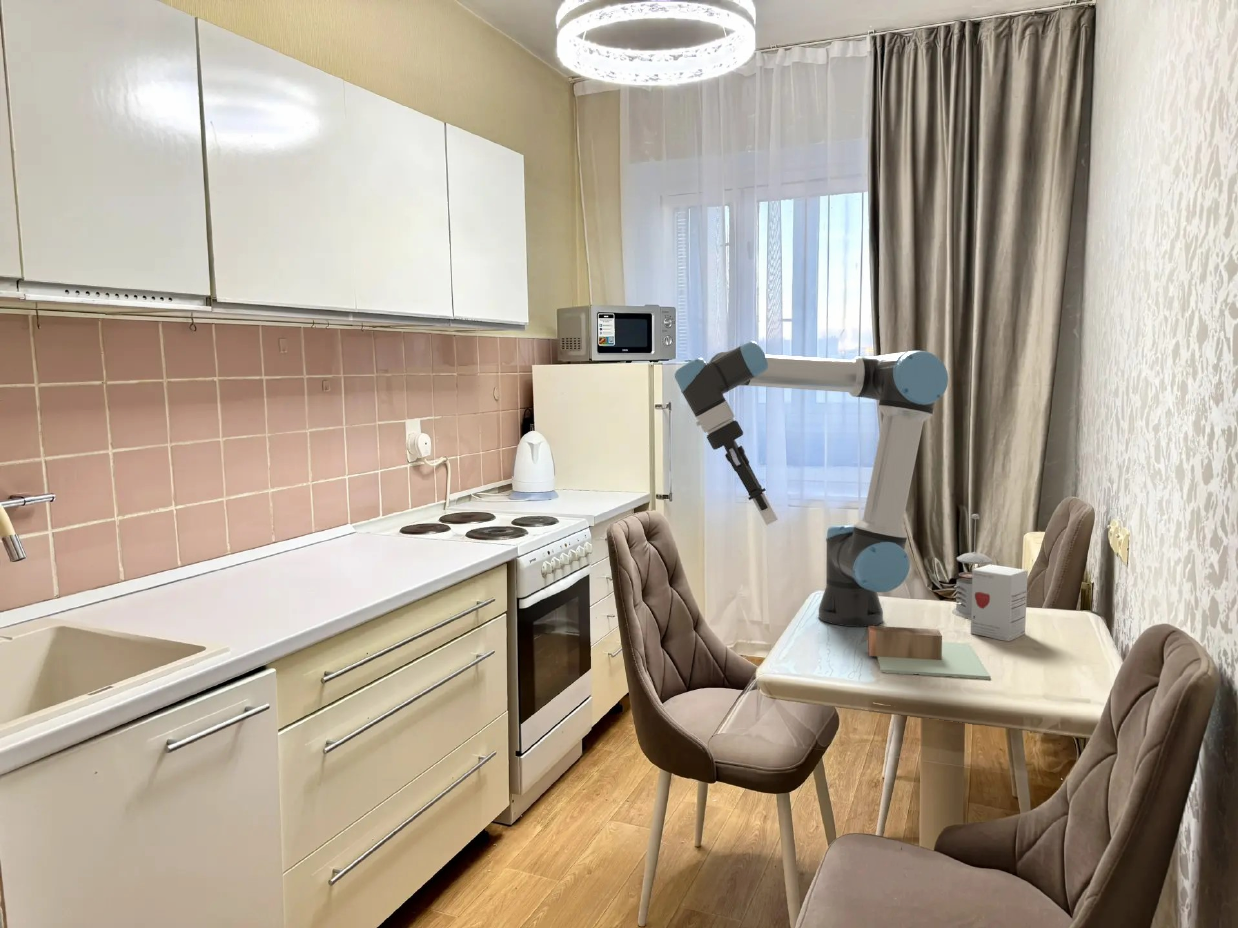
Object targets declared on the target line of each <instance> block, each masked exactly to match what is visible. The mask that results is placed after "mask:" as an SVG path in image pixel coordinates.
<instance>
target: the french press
mask: <svg viewBox="0 0 1238 928" xmlns="http://www.w3.org/2000/svg"><path fill="white" fill-rule="evenodd" d="M970 517H971V519H972V520H974V535H973V536H974V539H973V544H974V545H973V552H965V553H963V554H961V555H959V556H957V557H956V560H957V562H960V563H963V564H970V565H973V569H976V568H977V567H975V566H976V565H988V564H990V563H992V562H993V559H991V558H990V557H989V556H987V555H985V554H983V553H979V552H977V551H976V529H977V528H976V527H977V520H980V518H981V517H980V515H979V514H978V513H973V514H971V516H970ZM958 577H959V578H958V579H956V600H955V601H956V605H955V608H954V609H952V611H951V613H952V614H953V615H955V616H958V617H961V616H962V617H961V618H965V617H966V618H967V619H971V606H972V577H973V572H972V571H971V572H970V571H965V572H964V571H963V572H959V573H958Z"/></svg>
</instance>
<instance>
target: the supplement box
mask: <svg viewBox="0 0 1238 928" xmlns="http://www.w3.org/2000/svg"><path fill="white" fill-rule="evenodd" d="M975 568H976V569H974V568H973V569H972V573H973V577H972V606H971V618H970V634H973V635H977V636H982V637H986V638H990V639H995V640H1000V641H1004V642H1010V641H1013V640H1015V639H1018V638H1020V637H1022V636H1024V635H1025V634H1026V619H1027V598H1028V597H1027V594H1028V578H1029V577H1028V575H1029V570H1028V569H1023V568H1016V567H1010V566H1002V565H996V564H990V563H988V564H985V565H983V566H981V567H980V566H979V567H975Z"/></svg>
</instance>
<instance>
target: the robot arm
mask: <svg viewBox="0 0 1238 928" xmlns="http://www.w3.org/2000/svg"><path fill="white" fill-rule="evenodd" d="M943 362H944V361H942V360H941V358H939V357H938V355H936V354H933V353H932V352H929V351H925V350H915V349H914V350H913V349H912V350H908V351H903V352H895V353H894V352H893V353H889V354H882V355H875V356H855V357H854V358H853V359H836V358H822V357H806V356H805V357H804V356H789V355H774V354H773V355H772V354H765V352H764V351H763V349H762V347H761V346H760V345H759V344H758V343H757V342H756V341H753V340H750V341H748V342H746V343H743V344H740V345H739V346H738V347H736V348H733V349H731V350H728V351H724V352H723V351H722V352H718V353H716V354H715V355H713V356H712V357H711V359H710V360H709V362H707V361H705V360H704V358H703V357H698V358H696V359H693V360H691V361H689V362H687V363H686V364H684V365H682V366H681V367H679V368H678V369H677V370H676V371H675V373H674V379H675V381H676V382H677V384H678V388H679V389H680V392H681V393H682V395H683V397H684V399H685V401H686V403H687V404H688V406H689V408H690V409H691V411H692V413H693V415H694V416H695V418H696V420H697V421H696V423H695V425H696V426H697V427H700V426H701V427H700V428H701V429H702V431H703V433H707V435H706V439H707V440H708V443H709V444H710V446H711V448H712V449H713V451H714V450H719V449H720V448H722V447H723V448H724V450H725V451H726V453H725V454H724V456H725V458H726V460H727V461H728V463H730V465H731V467H732V469H733V471H734V472H736V474H737V475H738V478H739V479H740V481H741V482H742V484H743V487H744V488H745V490H746V491H747V493H748V496H749V497H748V500H749V501H751V500H752V501H753V503H754V505H755V506H756V508H757V511H758V512H759V514H760V516H761V518H762V519H763V522H764V524H765V525H766V526H768V525H770V524H772V523H774V522H776V521H778V520H779V517H777V515H776V513H775V510H774V509H773V507H772V505H771V503H770V502H769V499H768V497H767V496H766V493H765V492H766V487H763V488H762V485H761V484H760V482H759V481H758V478H757V476H756V475H755V472H754V470H753V469H752V467H751V465H750V461H749V459H748V456H747V455H746V450H745V449H744V447H743V445H740V446H739V444H737V442H736V440H737V439H739V438H741V437H742V436H743V435H744V431H743V429H742V427H741V426H740V424H739V421H737V420H734V418H735V414H734V412H733V410H732V408H731V406H730V405H729V403H728V401H727V400H726V398H725V396H724V394H727V393H728V392H730V391H731V390H733V389H735V388H737V387H739V386H749V387H762V388H765V387H767V388H777V389H778V388H780V389H795V390H808V391H809V390H810V391H827V392H841V393H849V395H850V396H851V397H854V398H865V399H869V400H870V399H871V400H876V401H879V402H878V408H879V410H880V412H881V413H882V415H883V417H882V422H881V426H880V427H881V428H880V431H879V432H880V433H879V436H878V437H879V439H878V443H877V447H876V452H875V457H874V463H873V468H872V472H871V477H870V482H869V486H868V487H869V488H868V491H867V492H868V493H867V497H866V502H865V507H864V511H863V515H862V516H863V517H862V519H861V520H860V521H858V522H856V523H855V524H852V525H851V524H849V525H848V524H843V525H831V526H830V527H828V528H827V531H826V532H827V533H826V538H825V541H826V566H825V567H826V570H825V571H826V572H825V573H826V575H825V576H826V581H825V582H826V585H825V588H824V592H823V595H822V597H821V600H820V603H819V606H818V618H819V620H821V621H823V622H826V623H829V624H832V625H837V626H845V627H868V626H877V625H879V624H881V623H883V621H884V612H883V607H882V604H881V601H880V597H879V594H878V593H888V592H890V591H891V592H892V591H893V590H896V589H897V588H899V587H900V586H901V585H902V584H903V583H904V582H905V580H906V579H907V577H908V575H909V573H910V567H911V565H910V563H911V562H910V558H909V556H908V553H907V551H906V550H905V549H906V545H907V538H908V535H907V533H906V531H905V530H904V529H903V524H904V523H903V522H904V518H905V513H906V508H907V503H908V499H909V493H910V490H911V489H910V488H911V483H912V480H913V479H912V478H913V474H914V469H915V464H916V460H917V455H918V450H919V445H920V440H921V435H922V430H923V426H924V422H926V420H929V419H930V418H931V417H933V414H934V413H933V412H934V409H935V403H936V402H937V401H939V400H940V398H942V397H943V395H944V394H945V393H946V390H947V388H948V385H949V375H948V370H947V367H946V365H945V364H944V363H943Z"/></svg>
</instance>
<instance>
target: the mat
mask: <svg viewBox="0 0 1238 928" xmlns="http://www.w3.org/2000/svg"><path fill="white" fill-rule="evenodd" d="M876 659H877V661H878V662H877V663H878V665H879V669H880V673H881V672H888V673H887V674H897V673H899V674H901V675H913V674H919V675H918V676H931V677H945V676H953V677H952V678H960V677H963V679H976V678H978V679H980V680H981V679H982V680H991V677H992V676H991V674H989V672H988V670H987V668H986V667H985V665H984V664H983V663H982V660H981V659H980V658H979V656H978V654H977V653H976V652H975V650H974V649H973V647H972V645H971V644H970V643H969V642H952V641H942V660H931V659H914V658H896V657H879V656H876ZM899 674H898V675H899ZM955 676H956V677H955ZM964 677H965V678H964Z"/></svg>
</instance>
